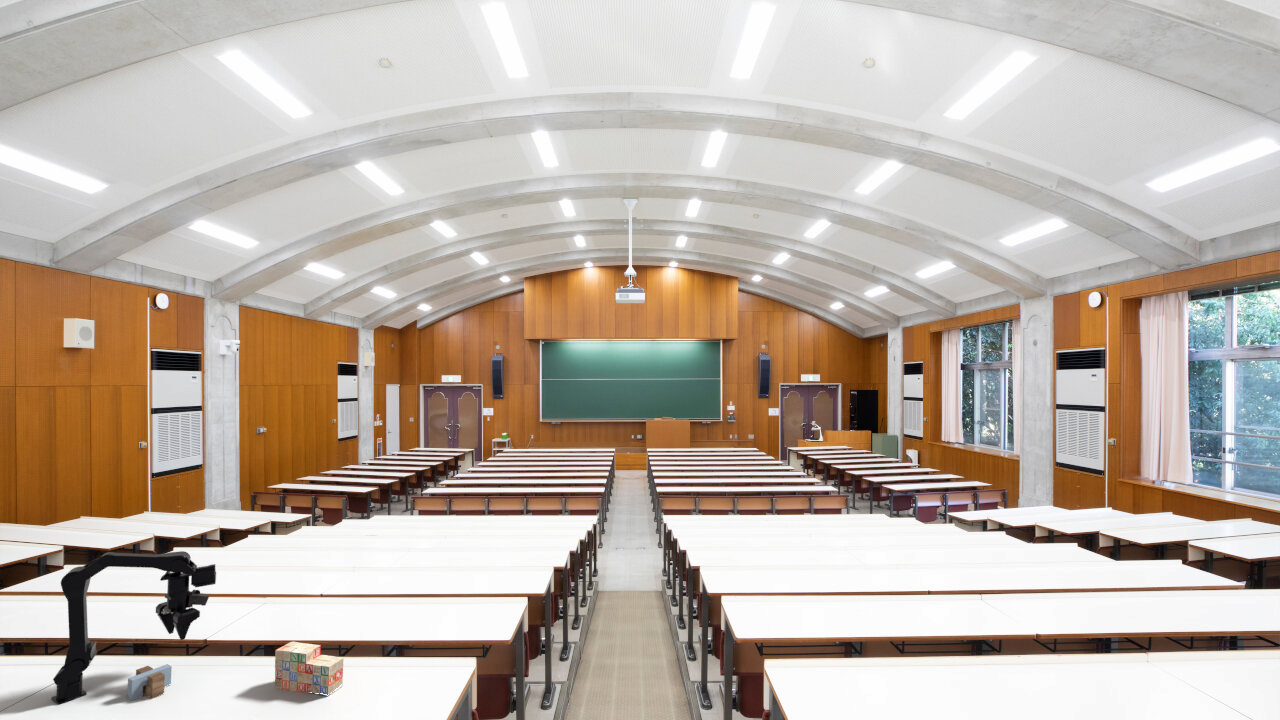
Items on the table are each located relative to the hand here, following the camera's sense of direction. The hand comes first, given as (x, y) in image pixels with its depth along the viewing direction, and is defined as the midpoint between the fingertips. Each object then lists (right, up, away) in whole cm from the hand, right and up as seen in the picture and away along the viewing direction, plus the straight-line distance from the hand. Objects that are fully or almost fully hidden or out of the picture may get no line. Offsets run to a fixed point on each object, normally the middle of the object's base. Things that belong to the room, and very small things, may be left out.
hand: (176, 636), depth 188 cm
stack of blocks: (+51, -12, -10) cm, 54 cm away
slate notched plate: (+2, -12, -12) cm, 17 cm away
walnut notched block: (+2, -12, -12) cm, 17 cm away
